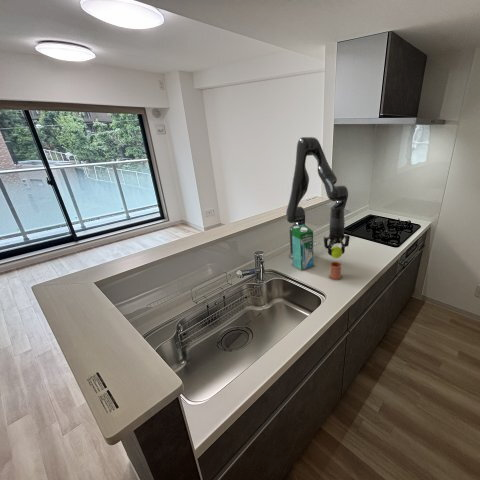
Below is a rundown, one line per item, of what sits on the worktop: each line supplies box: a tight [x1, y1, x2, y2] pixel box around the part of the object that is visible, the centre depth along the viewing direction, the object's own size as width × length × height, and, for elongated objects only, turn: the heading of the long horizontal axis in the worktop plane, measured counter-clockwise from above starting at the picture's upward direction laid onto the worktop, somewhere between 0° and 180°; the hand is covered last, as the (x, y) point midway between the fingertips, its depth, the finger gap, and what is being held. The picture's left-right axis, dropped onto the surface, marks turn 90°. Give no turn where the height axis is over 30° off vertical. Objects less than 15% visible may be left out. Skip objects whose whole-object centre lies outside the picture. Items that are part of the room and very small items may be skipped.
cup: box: [329, 261, 342, 280], centre depth 144 cm, size 6×6×8 cm
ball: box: [330, 246, 343, 259], centre depth 140 cm, size 6×6×6 cm
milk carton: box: [292, 223, 314, 271], centre depth 155 cm, size 9×9×25 cm
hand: (336, 254), depth 141 cm, fingers closed on ball, 6 cm apart
